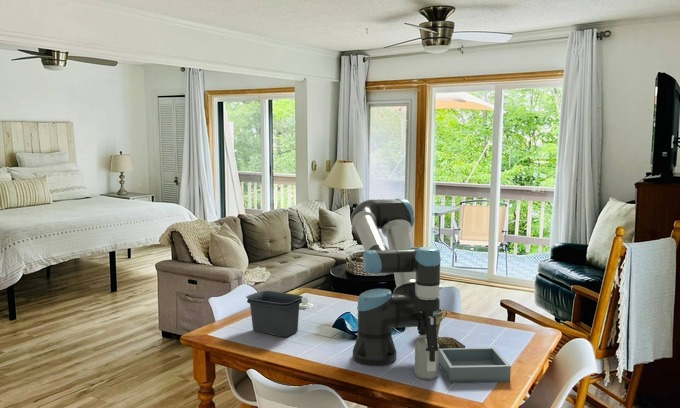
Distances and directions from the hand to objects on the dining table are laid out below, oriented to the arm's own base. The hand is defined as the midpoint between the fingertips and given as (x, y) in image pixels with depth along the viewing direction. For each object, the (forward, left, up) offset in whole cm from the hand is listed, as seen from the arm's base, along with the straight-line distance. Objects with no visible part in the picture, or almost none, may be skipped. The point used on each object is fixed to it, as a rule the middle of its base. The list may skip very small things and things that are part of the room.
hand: (426, 362), depth 176 cm
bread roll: (+12, +22, -5) cm, 26 cm away
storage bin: (-51, +46, -5) cm, 69 cm away
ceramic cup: (+10, +38, -5) cm, 40 cm away
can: (0, 0, -5) cm, 5 cm away
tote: (+15, +2, -5) cm, 16 cm away
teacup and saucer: (-43, +79, -5) cm, 90 cm away
